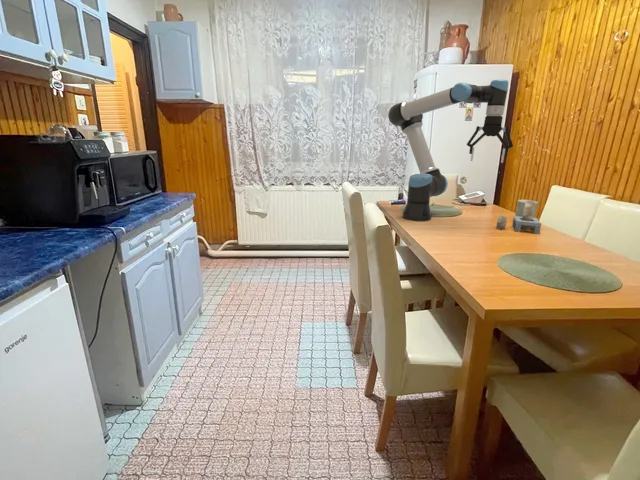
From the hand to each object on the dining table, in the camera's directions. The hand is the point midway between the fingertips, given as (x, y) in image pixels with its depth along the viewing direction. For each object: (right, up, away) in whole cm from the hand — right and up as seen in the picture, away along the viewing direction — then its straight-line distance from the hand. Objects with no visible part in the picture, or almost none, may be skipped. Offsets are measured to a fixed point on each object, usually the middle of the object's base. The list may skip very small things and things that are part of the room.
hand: (486, 161), depth 170 cm
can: (+26, -29, +13) cm, 41 cm away
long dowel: (+19, -33, 0) cm, 38 cm away
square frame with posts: (+19, -33, 0) cm, 38 cm away
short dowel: (+7, -33, +1) cm, 34 cm away
